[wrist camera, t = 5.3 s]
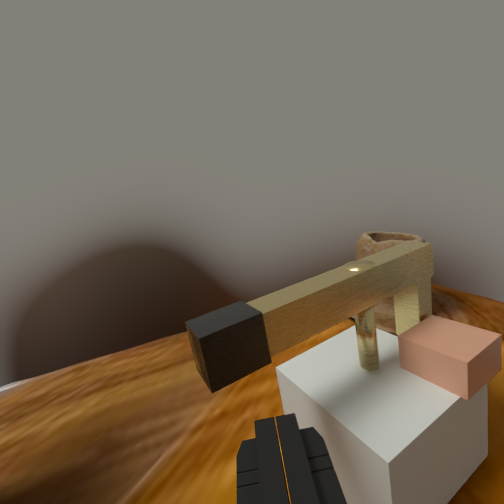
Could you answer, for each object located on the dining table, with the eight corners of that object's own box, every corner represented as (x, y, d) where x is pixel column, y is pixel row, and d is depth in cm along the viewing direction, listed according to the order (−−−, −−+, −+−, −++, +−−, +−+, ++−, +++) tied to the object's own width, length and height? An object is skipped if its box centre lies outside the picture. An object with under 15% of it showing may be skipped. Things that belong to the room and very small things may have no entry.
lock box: (367, 381, 33) (360, 322, 32) (487, 455, 23) (487, 371, 21) (288, 435, 28) (275, 367, 27) (397, 562, 18) (388, 463, 16)
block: (433, 343, 26) (432, 314, 25) (501, 369, 21) (501, 334, 21) (400, 367, 23) (397, 335, 23) (467, 400, 19) (467, 363, 18)
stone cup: (450, 322, 42) (446, 227, 39) (390, 348, 39) (382, 246, 36) (375, 294, 57) (369, 223, 54) (327, 312, 53) (317, 236, 50)
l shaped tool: (409, 324, 29) (404, 239, 27) (438, 334, 26) (434, 241, 24) (215, 443, 19) (185, 321, 17) (232, 476, 16) (198, 338, 15)
